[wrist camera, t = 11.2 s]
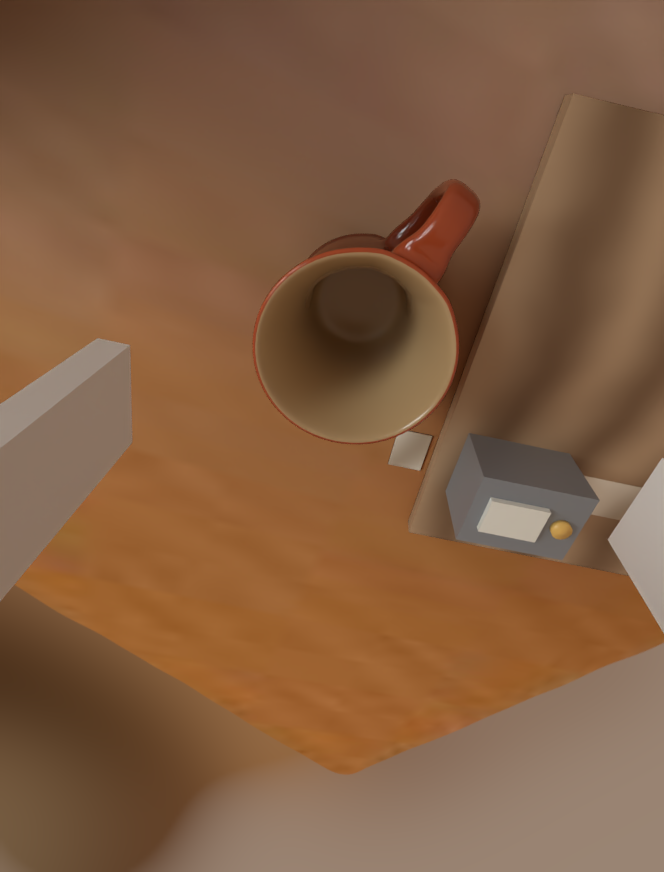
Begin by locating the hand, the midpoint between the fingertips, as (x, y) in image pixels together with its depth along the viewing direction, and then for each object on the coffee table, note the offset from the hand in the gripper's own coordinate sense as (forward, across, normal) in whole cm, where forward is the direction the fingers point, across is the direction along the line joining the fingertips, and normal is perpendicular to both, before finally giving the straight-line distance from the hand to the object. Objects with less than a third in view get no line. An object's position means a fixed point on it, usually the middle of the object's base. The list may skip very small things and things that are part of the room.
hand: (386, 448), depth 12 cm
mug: (+19, 0, 0) cm, 19 cm away
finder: (+18, +12, -11) cm, 24 cm away
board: (+19, +15, -4) cm, 25 cm away
